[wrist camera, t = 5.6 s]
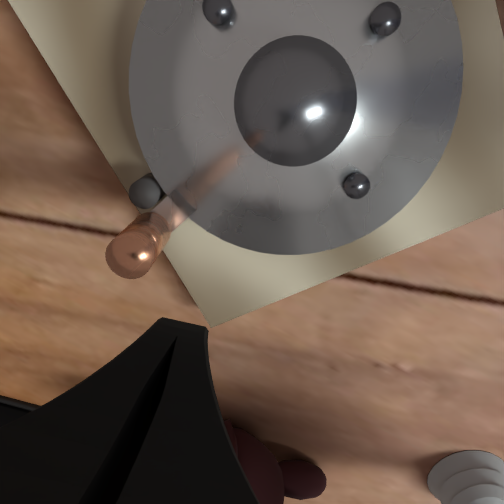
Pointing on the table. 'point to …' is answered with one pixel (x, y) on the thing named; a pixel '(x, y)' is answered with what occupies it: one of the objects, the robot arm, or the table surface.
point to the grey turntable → (287, 118)
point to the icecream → (274, 471)
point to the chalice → (468, 479)
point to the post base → (240, 259)
